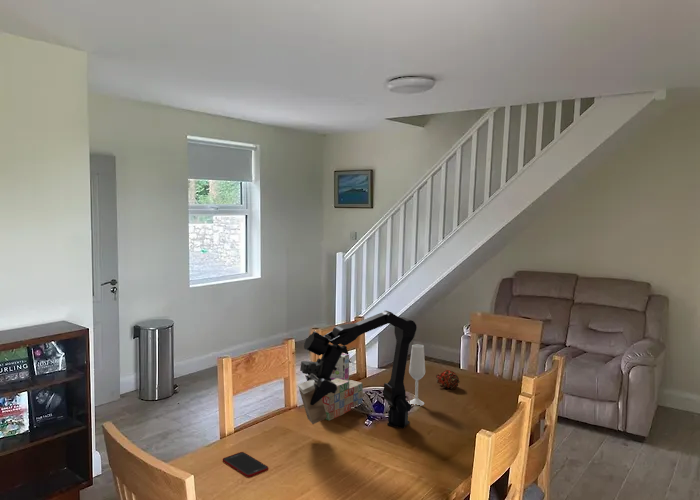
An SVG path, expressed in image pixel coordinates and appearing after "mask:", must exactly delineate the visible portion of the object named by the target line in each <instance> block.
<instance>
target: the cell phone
mask: <svg viewBox="0 0 700 500" xmlns="http://www.w3.org/2000/svg"><path fill="white" fill-rule="evenodd" d="M222 462H223V463H224V462H225V463H224V464H226V465H227V464H228V466H229V467H231V468H232V469H234V470H235V469H236V471H237V470H238V471H239V472H238V471H237V472H238V473H240V474H241V475H242V476H244V475H245V476H244V477H246V478H251V477H253V476H257V475H259V474H262V473H263V472H267V471H268V470H269V466H268V465H266V464H265V463H263V462H261V461H259V460H258V459H256V458H254V457H253V456H251V455H249V454H248V453H247V452H244V451H241V452H236V453H234V454H231V455H229V456H225V457H223V458H222Z"/></svg>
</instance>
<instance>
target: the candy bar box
mask: <svg viewBox="0 0 700 500" xmlns="http://www.w3.org/2000/svg"><path fill="white" fill-rule="evenodd" d="M322 356H323V355H322V354H321V357H322ZM336 368H337V370H336V371H335V370H334V371H333V373H332V375H331V377H330V378H331V379H332V380H334V379H336V378H338V379H342V380H346V381H349V380H350V354H349V353H348V354H345V353H342V354H341V356H340V358H339V360H338V362H337V365H336Z"/></svg>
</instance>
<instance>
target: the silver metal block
mask: <svg viewBox="0 0 700 500" xmlns="http://www.w3.org/2000/svg"><path fill="white" fill-rule="evenodd" d="M314 384H317V383H316V382H315V381H314V380H313V379H311V380H308V381H307V380H306V381H304V382H301V383H299V384H298V385H297V388H298V390H299V394H300V398H301V400H302V404H303V407H304V410H305V414H306V417H307V420H308V421H309V422H310V423H311V424H312V425H315V424H317V423H319V422H321V421H324V420H326V418H327V415H326V411H325V408H324V404H323V401H322V398H321V399H320V400H319V401H318V402H316V403H315V404H314V405H311V404H310V402H311V399H312V396H313V394H314V391H315V386H314Z"/></svg>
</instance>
